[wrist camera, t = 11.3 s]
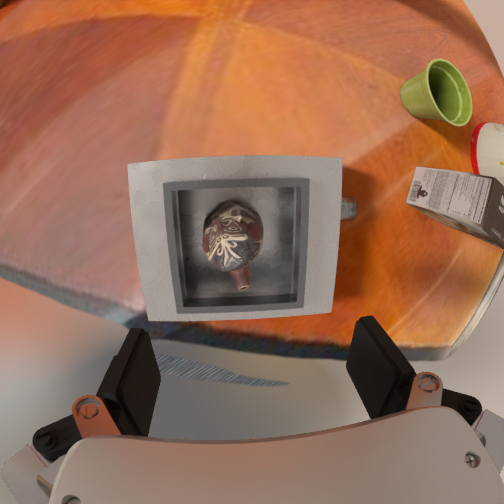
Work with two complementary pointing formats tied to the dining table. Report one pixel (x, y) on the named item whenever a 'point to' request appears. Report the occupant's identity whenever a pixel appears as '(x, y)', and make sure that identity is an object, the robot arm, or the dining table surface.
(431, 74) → the plant pot
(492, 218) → the coffee box
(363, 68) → the dining table surface
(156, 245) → the grey box with knob
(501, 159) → the kitchen timer
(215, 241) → the figurine
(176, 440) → the robot arm
